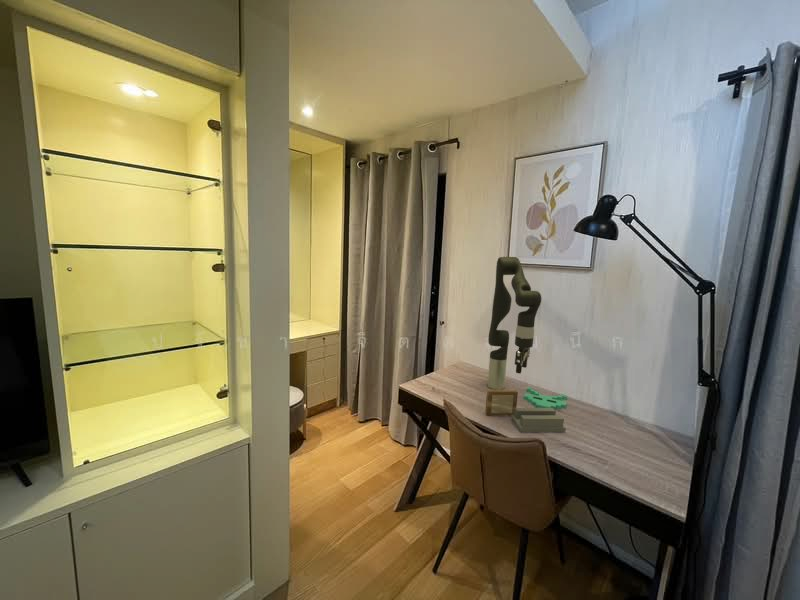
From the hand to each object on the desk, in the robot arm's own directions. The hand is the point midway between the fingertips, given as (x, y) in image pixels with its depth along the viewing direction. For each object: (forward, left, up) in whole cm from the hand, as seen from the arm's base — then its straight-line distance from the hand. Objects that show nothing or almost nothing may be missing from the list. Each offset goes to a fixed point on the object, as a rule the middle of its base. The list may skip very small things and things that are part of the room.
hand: (521, 370), depth 152 cm
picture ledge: (+4, +8, -25) cm, 26 cm away
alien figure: (-20, +23, -25) cm, 40 cm away
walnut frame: (-6, -6, -25) cm, 26 cm away
